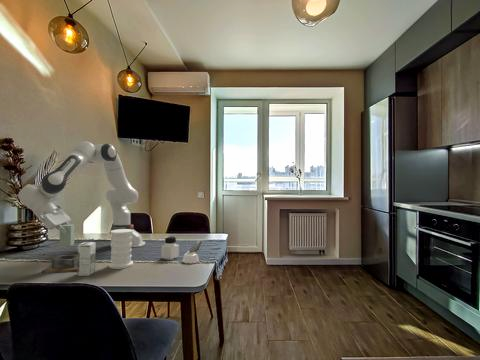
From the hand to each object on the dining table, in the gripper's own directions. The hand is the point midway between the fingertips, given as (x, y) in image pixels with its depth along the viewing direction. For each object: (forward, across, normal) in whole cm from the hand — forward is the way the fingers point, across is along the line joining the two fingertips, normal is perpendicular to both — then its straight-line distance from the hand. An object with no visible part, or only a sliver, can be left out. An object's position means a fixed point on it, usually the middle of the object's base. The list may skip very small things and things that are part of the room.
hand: (68, 231), depth 146 cm
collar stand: (+12, 0, +13) cm, 18 cm away
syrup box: (+22, -13, +4) cm, 26 cm away
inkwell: (+57, +6, -32) cm, 66 cm away
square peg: (+4, 0, +5) cm, 7 cm away
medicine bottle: (+48, +11, -22) cm, 54 cm away
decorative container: (+31, -1, -5) cm, 31 cm away
